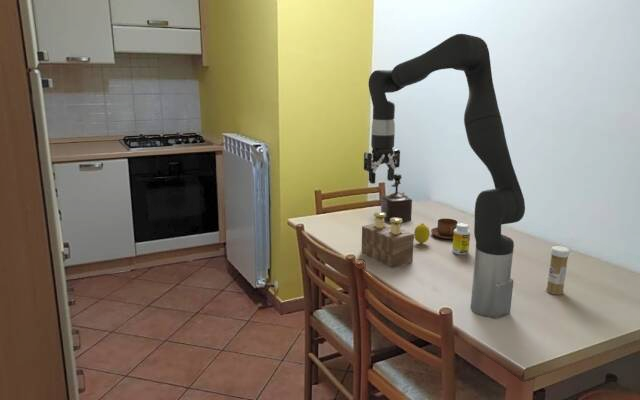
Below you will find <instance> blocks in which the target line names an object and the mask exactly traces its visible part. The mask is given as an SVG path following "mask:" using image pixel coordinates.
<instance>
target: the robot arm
mask: <svg viewBox="0 0 640 400" xmlns="http://www.w3.org/2000/svg"><path fill="white" fill-rule="evenodd" d="M448 69H453V70H457V71H463V72H464V74H465V77H466V82H467V87H468V99H467V102H466V106H465V109H464V110H465V111H464V116H463V124H464V129H465V133H466V137H467V138H466V139H467V141H468V144H469V146H470V148H471V150H473V152H474V154H475V155H476V156H477V158H478V159H479V160H480V161H481V162H482V163H483V164H484V166H486V168H487V170H488V171H489V173H490V175H491V179H492V182H493V184H494V188H492V189H483V190H482V191H480V193H478V195H477V198H476V200H475V204H474V222H473V223H474V224H473V225H474V227H473V229H474V230H473V232H474V233H473V234H474V239H475V253H474V266H473V273H472V274H473V275H472V286H471V287H472V288H471V298H470V299H471V300H470V309H471V310H472V311H473V312H474V313H475V314H478V315H480V316H484V317H488V318H493V319H499V318H501V317H503V316H505V315H509V314H510V313H511V309H512V299H513V289H514V279H513V278H511V275H512V265H513V255H514V248H515V247H514V246H515V243H514V240H513V239H512V238H511V237H509V236H507V235H503V234H502V225H508V224H513V223H518V222H520V221H521V220H522V219H523V217H525V216H524V215H525V212H526V203H525V198H524V194H523V192H522V189H521V185H520V182H519V180H518V176H517V175H516V171H515V169H514V166H513V162H512V157H511V154H510V150H509V148H508V144H507V143H508V142H507V139H506V134H505V133H506V132H505V128H504V123H503V119H502V116H501V112H500V109H499V105H498V100H497V96H496V91H495V86H494V81H493V75H492V66H491V57H490V51H489V47H488V44H487V43H486V42H485V40H484V39H483V38H482V37H478V36H475V35H470V34H466V33H456V34H454V35H451V36H450V37H448V38H446V39H445V40H443V41H442V42H441V43H439V44H438V45H436V46H435V47H433V48H430V49H429V50H428V51H426V52H424V53H422V54H420V55H419V56H416V57H414V58H413V57H412V58H411V59H409V60H408V59H407V60H405V61H404V62H401V63H399V64H397V65H395V66H394V67H393V69H391V70H390V69H389V70H388V69H385V70H384V69H381V70H380V69H379V70H374V71H372V73H371V74H370V76H369V79H368V90H369V95H370V98H371V103H372V122H371V140H370V141H371V142H370V143H371V144H370V145H371V148H372V149H371V152H366V151H365V152H364V153H363V170H364V171H365V172H366V171H367V172H368V182H369V184H371V185H372V184H376V175H377V173H376V171H377V169H378V168H379V167H380V166H381V165H383V164H385V165H386V166H387V174H386V175H387V177H386V178H387V181H390V182H392V181H394V175H395V170H396V169H397V168H399V167H400V165H401V164H400V162H401V158H400V157H401V150H400V149H397V148H396V149H395V148H394V147H395V137H396V135H395V133H396V130H395V129H396V127H395V126H396V124H395V113H396V112H395V111H396V108H395V105H396V104H395V103H394V101H392V100H389V99H388V98H387V95H386V93H396V92H398V91H401V90H402V89H404V88H405V87H408V86H410V85H414V84H416V83H417V84H418V83H419V82H422V81H423V80H425V79H427V77H429V75H431V74H432V73H434V72H436V71H440V70H448Z"/></svg>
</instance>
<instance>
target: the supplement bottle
mask: <svg viewBox="0 0 640 400" xmlns="http://www.w3.org/2000/svg"><path fill="white" fill-rule="evenodd" d="M470 241H471V231H470V230H469V224H467V223H465V222H464V223H461V222H460V223H457V227H456V229H455V230H454V236H453V239H452V252H453V253H454V254H456V255H461V256H462V255H463V256H464V255H468V254H469V250H470Z"/></svg>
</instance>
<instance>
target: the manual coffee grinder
mask: <svg viewBox="0 0 640 400" xmlns="http://www.w3.org/2000/svg"><path fill="white" fill-rule="evenodd" d="M401 179H402V175H401V174H400V173H394V179H393V181H394V183H393V184H391V188H395V192H393V193H391V194H388V195H381V196H380V212H384V213H386V217H384V221H387V222H388V223H391V222H390V218H401V219H402V223H403V222H410V221H412V208H413V206H412V205H413V201H412V199H411V198H409V197H408V196H407V195H406V194H405V192H402V193H400V192H399V190H398V188H399V185H401Z"/></svg>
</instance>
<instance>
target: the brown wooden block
mask: <svg viewBox="0 0 640 400" xmlns="http://www.w3.org/2000/svg"><path fill="white" fill-rule="evenodd" d="M414 240H415V237H414V232H410V231H408V230H405V229H402V228H400V234H399V235H393V234H391V224H388V223H386V222H384V228H382V229H377V228H375V223H371V224H367V225H362V227H361V255H364V256H366V257H368V258H370V259H372V260H375V261H377V262H379V263H381V264H383V265H385V266H387V267H390V268H392V269H394V268H398V267H401V266H404V265H408V264H411V263H413V261H414V242H415V241H414Z"/></svg>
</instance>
